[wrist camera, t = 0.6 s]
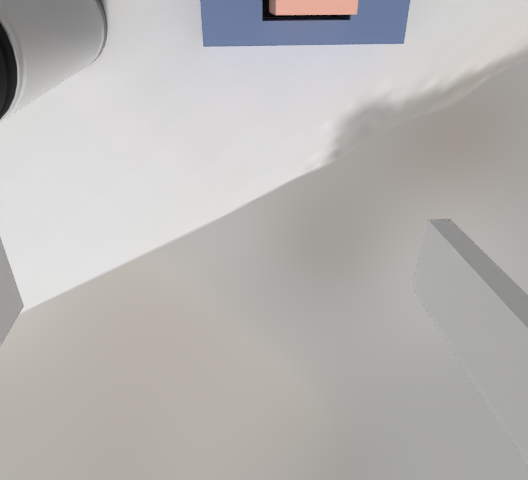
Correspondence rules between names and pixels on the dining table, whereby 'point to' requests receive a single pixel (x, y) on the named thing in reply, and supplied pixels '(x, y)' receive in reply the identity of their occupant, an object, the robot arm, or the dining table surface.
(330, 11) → the key coral
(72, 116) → the dining table surface
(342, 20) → the board
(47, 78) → the travel mug
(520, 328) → the robot arm
